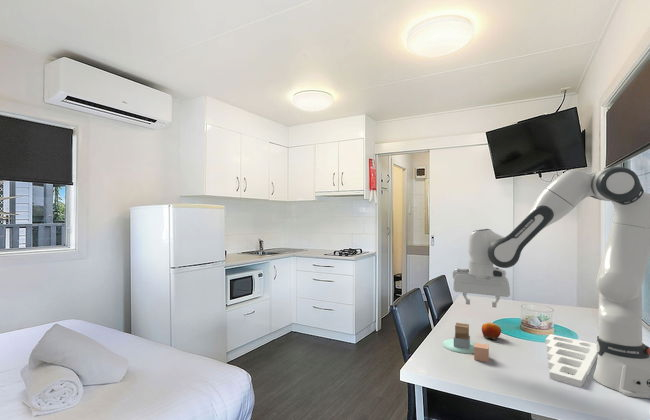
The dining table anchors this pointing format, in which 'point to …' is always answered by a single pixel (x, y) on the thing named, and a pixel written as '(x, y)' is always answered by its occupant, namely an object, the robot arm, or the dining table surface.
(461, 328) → the walnut block
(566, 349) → the trivet
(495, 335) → the fruit
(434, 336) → the dining table surface
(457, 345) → the mint green round disc
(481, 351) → the terracotta block
